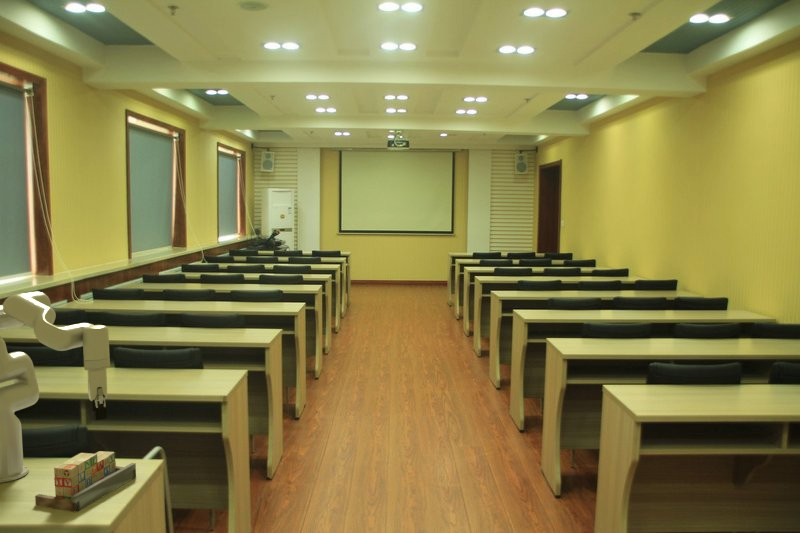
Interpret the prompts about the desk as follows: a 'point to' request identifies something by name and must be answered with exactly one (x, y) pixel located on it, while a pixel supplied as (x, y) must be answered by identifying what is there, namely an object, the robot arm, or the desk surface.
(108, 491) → the u-shaped fence
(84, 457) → the stack of blocks
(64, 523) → the desk surface
